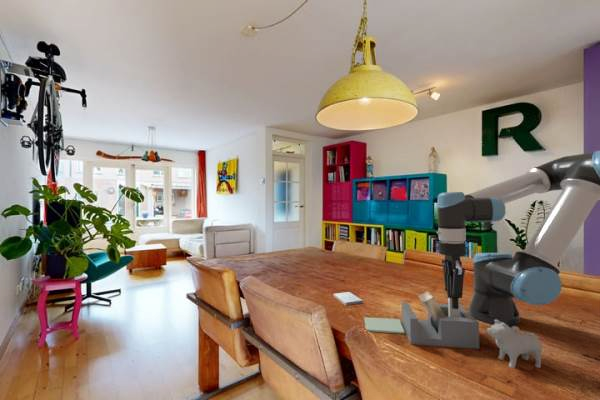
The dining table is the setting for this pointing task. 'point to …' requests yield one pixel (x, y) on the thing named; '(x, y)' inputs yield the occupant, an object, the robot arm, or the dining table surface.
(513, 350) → the animal figurine
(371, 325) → the mat
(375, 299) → the dining table surface
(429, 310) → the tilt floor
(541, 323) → the dining table surface
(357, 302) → the hard drive
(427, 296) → the tile
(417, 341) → the dock
